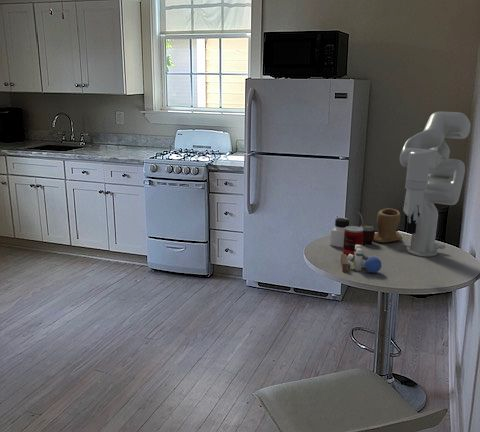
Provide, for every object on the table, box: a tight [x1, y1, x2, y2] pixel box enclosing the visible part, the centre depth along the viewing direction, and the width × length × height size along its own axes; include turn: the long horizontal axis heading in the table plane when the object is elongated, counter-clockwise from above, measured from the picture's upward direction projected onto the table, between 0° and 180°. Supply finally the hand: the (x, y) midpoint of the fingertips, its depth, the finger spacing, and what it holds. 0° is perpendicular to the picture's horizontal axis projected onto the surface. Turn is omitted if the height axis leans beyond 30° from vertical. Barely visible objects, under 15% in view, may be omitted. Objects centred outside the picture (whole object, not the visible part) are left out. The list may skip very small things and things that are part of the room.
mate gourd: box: [356, 210, 376, 246], centre depth 227 cm, size 8×8×15 cm
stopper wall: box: [340, 253, 349, 273], centre depth 198 cm, size 2×12×3 cm, turn 173°
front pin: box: [347, 254, 366, 269], centre depth 197 cm, size 2×2×8 cm
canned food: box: [342, 225, 363, 256], centre depth 213 cm, size 8×8×11 cm
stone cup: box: [373, 207, 403, 243], centre depth 232 cm, size 15×12×15 cm
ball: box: [364, 256, 382, 274], centre depth 192 cm, size 6×6×6 cm
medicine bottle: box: [329, 217, 350, 249], centre depth 224 cm, size 7×7×12 cm
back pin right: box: [353, 245, 361, 267], centre depth 199 cm, size 2×2×8 cm
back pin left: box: [354, 248, 364, 271], centre depth 194 cm, size 2×2×8 cm
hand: (410, 232), depth 192 cm, fingers closed
